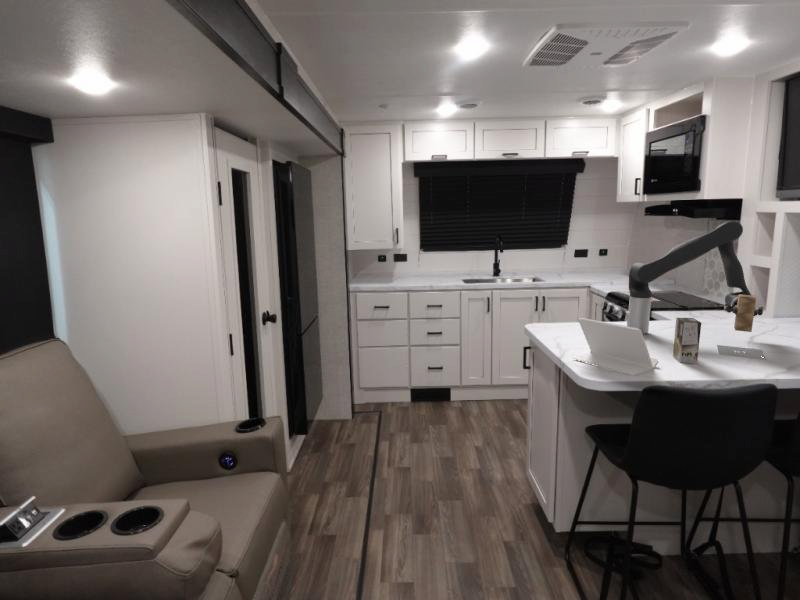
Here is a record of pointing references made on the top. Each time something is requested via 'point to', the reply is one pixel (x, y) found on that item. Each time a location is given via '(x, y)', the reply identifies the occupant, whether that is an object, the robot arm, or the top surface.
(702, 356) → the top surface
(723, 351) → the tile
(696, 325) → the coffee box
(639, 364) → the white laptop
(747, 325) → the brown wooden block
